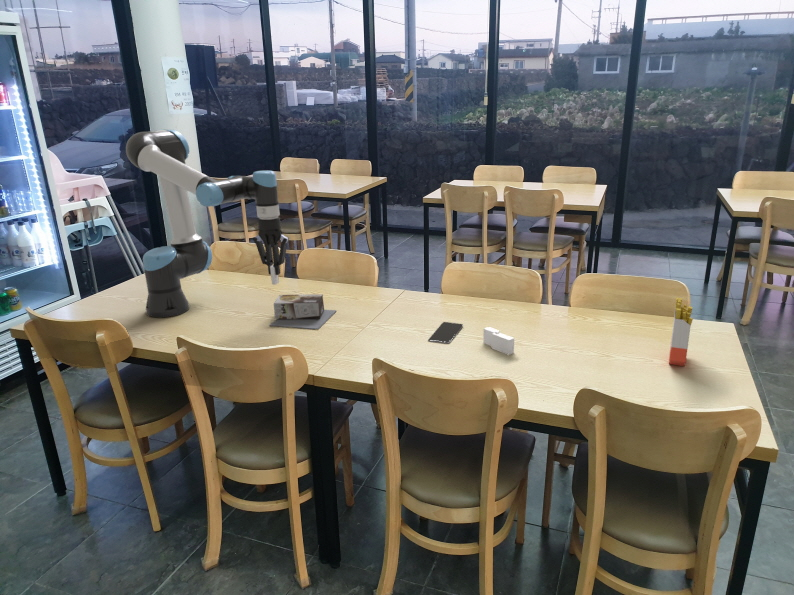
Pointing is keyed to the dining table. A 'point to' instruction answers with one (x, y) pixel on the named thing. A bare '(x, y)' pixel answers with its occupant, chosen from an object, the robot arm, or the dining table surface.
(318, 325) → the rubber mat
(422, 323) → the dining table surface
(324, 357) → the dining table surface
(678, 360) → the french fries container
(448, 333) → the smartphone
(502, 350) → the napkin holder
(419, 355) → the dining table surface
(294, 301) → the coffee box
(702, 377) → the dining table surface
